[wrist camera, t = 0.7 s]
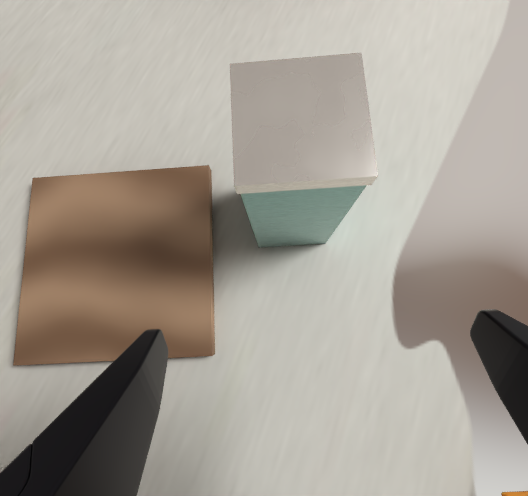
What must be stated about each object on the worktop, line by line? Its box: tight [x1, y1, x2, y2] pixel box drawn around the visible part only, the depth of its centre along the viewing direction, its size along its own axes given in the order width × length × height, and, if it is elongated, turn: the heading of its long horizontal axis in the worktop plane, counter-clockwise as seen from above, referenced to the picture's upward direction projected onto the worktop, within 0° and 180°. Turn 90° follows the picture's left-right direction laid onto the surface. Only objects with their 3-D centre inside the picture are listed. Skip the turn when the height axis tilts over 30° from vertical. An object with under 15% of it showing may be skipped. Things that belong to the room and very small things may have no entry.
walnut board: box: [13, 165, 215, 365], centre depth 23 cm, size 14×14×2 cm
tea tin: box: [230, 53, 378, 248], centre depth 17 cm, size 5×5×12 cm
